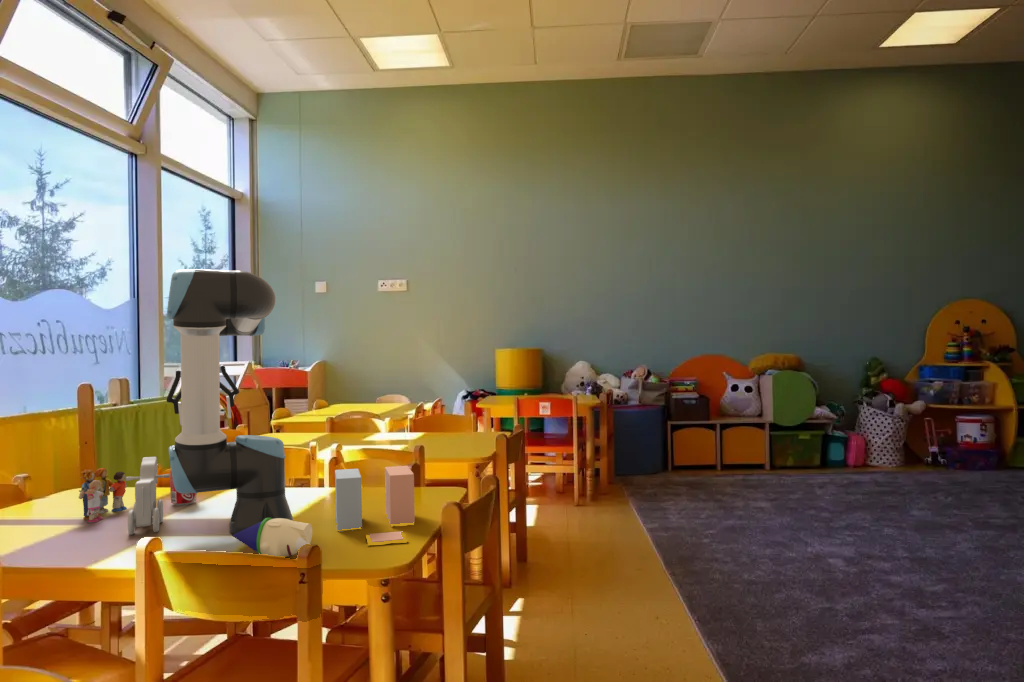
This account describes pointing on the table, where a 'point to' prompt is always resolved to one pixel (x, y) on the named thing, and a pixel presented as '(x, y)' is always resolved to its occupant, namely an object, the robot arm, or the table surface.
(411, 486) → the terracotta brick
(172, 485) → the soda can
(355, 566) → the table surface
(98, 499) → the doll family
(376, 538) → the tile
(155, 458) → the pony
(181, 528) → the table surface
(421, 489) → the table surface
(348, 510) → the slate brick
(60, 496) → the table surface
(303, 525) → the cartoon head
